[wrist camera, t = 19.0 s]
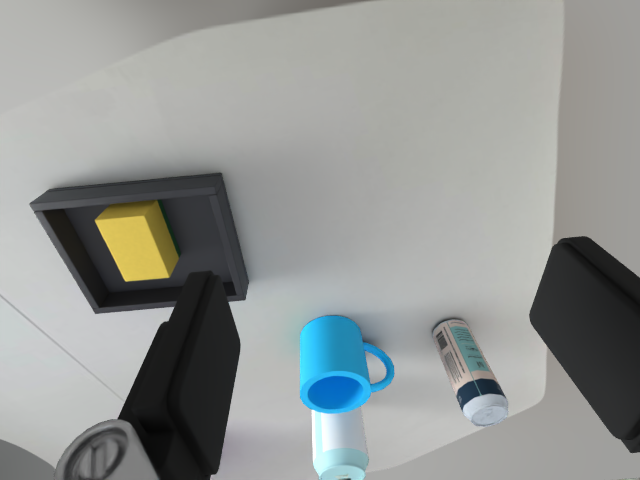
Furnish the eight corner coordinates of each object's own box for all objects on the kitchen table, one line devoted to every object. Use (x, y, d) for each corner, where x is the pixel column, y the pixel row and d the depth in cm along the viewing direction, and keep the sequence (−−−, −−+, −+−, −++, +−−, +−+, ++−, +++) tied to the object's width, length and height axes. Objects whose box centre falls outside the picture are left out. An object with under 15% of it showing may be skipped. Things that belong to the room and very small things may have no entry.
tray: (49, 188, 34) (28, 204, 31) (221, 172, 33) (214, 186, 31) (108, 294, 41) (95, 314, 38) (249, 282, 41) (245, 300, 38)
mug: (295, 354, 48) (294, 411, 41) (305, 311, 44) (306, 367, 37) (378, 362, 50) (390, 418, 43) (396, 322, 46) (413, 377, 39)
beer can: (435, 345, 48) (470, 433, 38) (427, 323, 46) (462, 411, 36) (470, 335, 48) (515, 421, 38) (463, 312, 45) (510, 398, 35)
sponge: (114, 199, 34) (93, 220, 30) (159, 195, 34) (144, 215, 30) (140, 257, 38) (125, 281, 34) (181, 254, 38) (169, 277, 34)
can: (367, 386, 53) (382, 474, 43) (336, 407, 56) (344, 495, 46) (332, 368, 50) (339, 458, 40) (301, 392, 53) (301, 481, 43)
